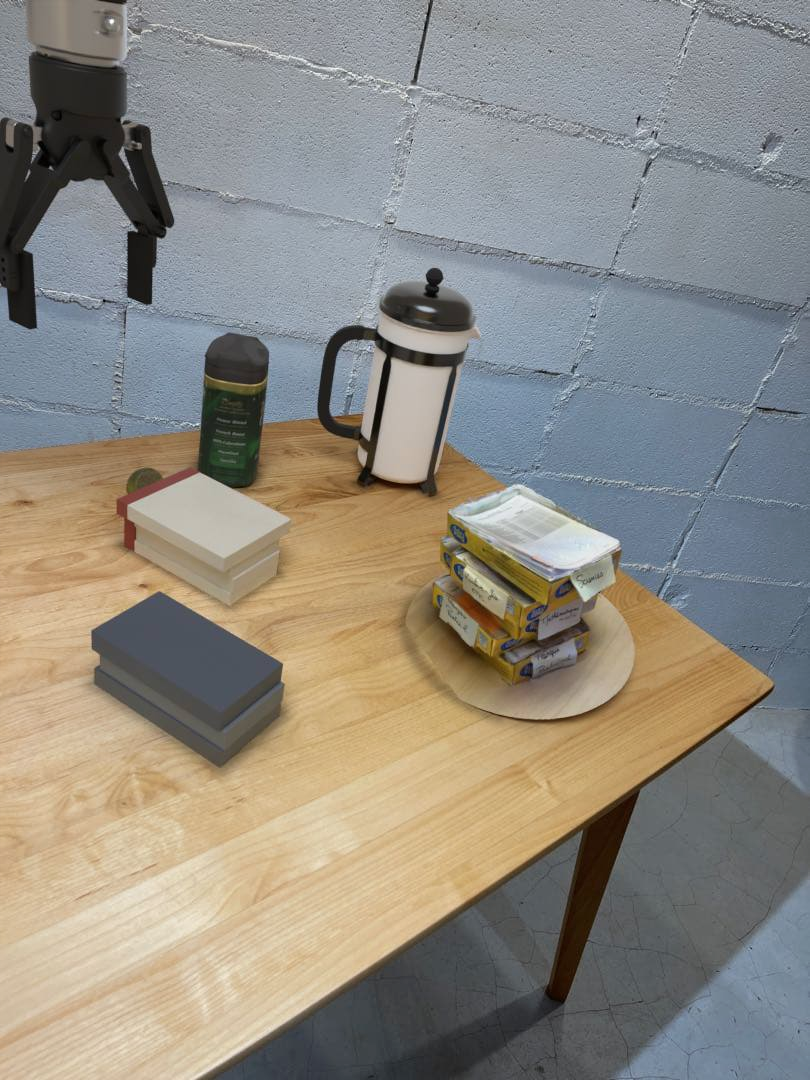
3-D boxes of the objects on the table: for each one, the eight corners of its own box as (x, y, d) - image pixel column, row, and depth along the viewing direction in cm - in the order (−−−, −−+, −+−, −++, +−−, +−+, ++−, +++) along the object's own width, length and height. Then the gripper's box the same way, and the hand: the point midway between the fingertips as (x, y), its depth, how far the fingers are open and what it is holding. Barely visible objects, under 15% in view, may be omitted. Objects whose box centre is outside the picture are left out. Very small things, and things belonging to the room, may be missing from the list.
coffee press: (393, 440, 128) (430, 246, 113) (465, 487, 120) (517, 283, 104) (305, 461, 117) (333, 249, 101) (378, 515, 108) (421, 292, 93)
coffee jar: (254, 494, 107) (267, 360, 97) (192, 485, 106) (200, 350, 96) (261, 460, 115) (274, 333, 105) (204, 452, 114) (212, 323, 104)
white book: (116, 513, 88) (116, 499, 87) (189, 480, 97) (190, 466, 96) (222, 573, 83) (224, 558, 82) (290, 532, 91) (292, 518, 90)
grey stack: (92, 686, 74) (90, 630, 70) (158, 643, 80) (160, 590, 77) (219, 771, 69) (224, 715, 65) (280, 718, 75) (287, 664, 71)
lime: (165, 496, 103) (166, 461, 100) (162, 517, 99) (163, 481, 96) (128, 494, 102) (128, 458, 99) (124, 514, 98) (123, 478, 95)
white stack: (123, 547, 92) (123, 507, 89) (175, 521, 98) (177, 483, 96) (229, 608, 87) (232, 567, 84) (277, 576, 93) (282, 537, 90)
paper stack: (467, 746, 76) (512, 606, 67) (372, 588, 94) (397, 461, 86) (669, 704, 87) (730, 578, 78) (548, 569, 105) (586, 454, 96)
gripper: (-33, 53, 55) (-7, 350, 67) (218, 75, 75) (206, 303, 86) (-102, 32, 58) (-65, 321, 69) (158, 59, 77) (154, 281, 89)
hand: (85, 312), depth 78 cm, fingers open, 13 cm apart
